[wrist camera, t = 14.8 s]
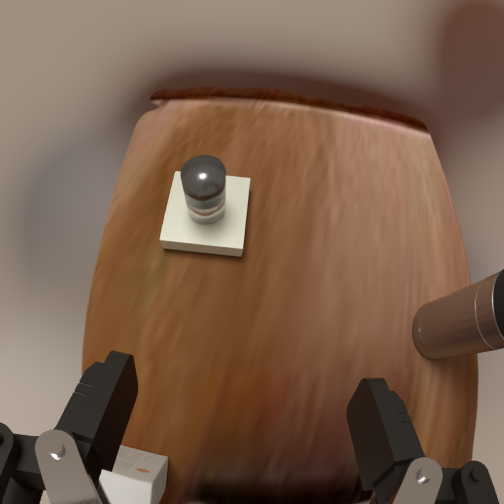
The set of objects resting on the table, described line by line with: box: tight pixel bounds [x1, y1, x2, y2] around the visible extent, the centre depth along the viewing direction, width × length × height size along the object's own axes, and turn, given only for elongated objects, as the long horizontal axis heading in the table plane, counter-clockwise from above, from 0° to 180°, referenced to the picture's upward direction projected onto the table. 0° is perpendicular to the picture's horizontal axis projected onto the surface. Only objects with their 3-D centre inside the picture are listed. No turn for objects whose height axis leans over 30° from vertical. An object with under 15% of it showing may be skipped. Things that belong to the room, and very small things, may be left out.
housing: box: [180, 155, 226, 225], centre depth 37 cm, size 5×5×8 cm
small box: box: [99, 445, 168, 504], centre depth 26 cm, size 8×6×10 cm
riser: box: [160, 171, 250, 257], centre depth 43 cm, size 11×11×3 cm
